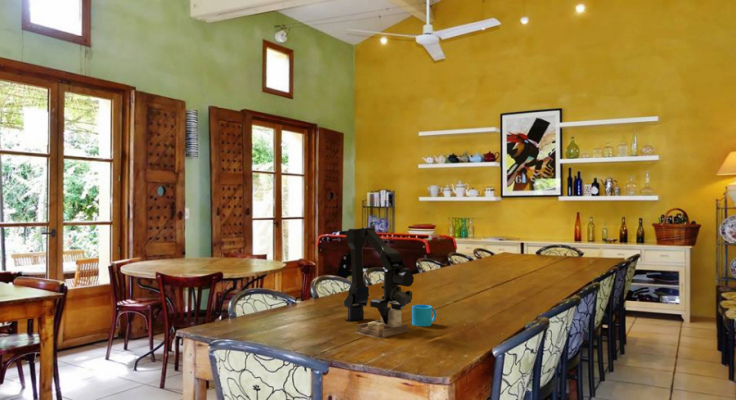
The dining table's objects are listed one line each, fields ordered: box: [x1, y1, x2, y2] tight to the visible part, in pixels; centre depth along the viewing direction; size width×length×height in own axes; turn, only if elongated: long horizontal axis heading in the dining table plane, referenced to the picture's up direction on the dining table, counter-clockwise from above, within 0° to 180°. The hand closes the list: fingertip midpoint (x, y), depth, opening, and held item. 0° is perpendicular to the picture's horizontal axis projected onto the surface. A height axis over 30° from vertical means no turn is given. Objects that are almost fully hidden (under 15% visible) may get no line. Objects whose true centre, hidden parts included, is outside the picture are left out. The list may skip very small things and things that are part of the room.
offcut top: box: [367, 320, 384, 330], centre depth 206 cm, size 5×4×2 cm
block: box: [380, 308, 402, 327], centre depth 213 cm, size 9×2×8 cm, turn 47°
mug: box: [411, 304, 437, 327], centre depth 224 cm, size 12×8×8 cm
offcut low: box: [365, 327, 384, 335], centre depth 206 cm, size 7×4×2 cm, turn 47°
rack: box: [354, 319, 410, 339], centre depth 209 cm, size 14×18×3 cm
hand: (390, 322), depth 213 cm, fingers open, 5 cm apart
